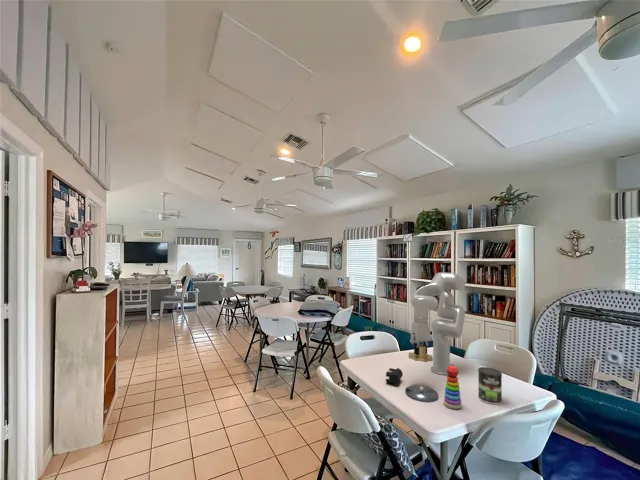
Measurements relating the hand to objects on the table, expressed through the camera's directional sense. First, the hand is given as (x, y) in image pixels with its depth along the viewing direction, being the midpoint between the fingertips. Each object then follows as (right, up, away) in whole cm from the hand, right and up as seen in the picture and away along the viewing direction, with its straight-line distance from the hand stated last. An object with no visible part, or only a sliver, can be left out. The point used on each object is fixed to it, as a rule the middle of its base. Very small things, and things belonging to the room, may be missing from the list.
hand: (420, 353), depth 161 cm
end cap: (-13, -19, +5) cm, 23 cm away
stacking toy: (+9, -18, -19) cm, 28 cm away
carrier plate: (-2, -18, -8) cm, 20 cm away
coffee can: (+30, -18, -13) cm, 38 cm away
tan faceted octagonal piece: (0, -2, 0) cm, 2 cm away
